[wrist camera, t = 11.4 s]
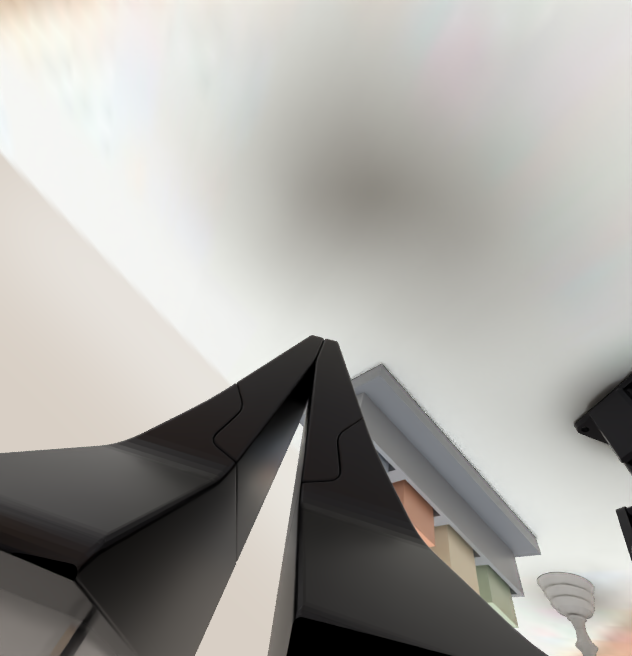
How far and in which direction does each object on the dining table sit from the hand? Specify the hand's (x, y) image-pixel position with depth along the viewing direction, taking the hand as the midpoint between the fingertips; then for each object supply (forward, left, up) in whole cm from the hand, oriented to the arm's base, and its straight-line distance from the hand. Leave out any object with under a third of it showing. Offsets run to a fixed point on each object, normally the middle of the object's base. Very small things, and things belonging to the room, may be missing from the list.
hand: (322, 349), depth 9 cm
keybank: (-12, +20, -13) cm, 27 cm away
